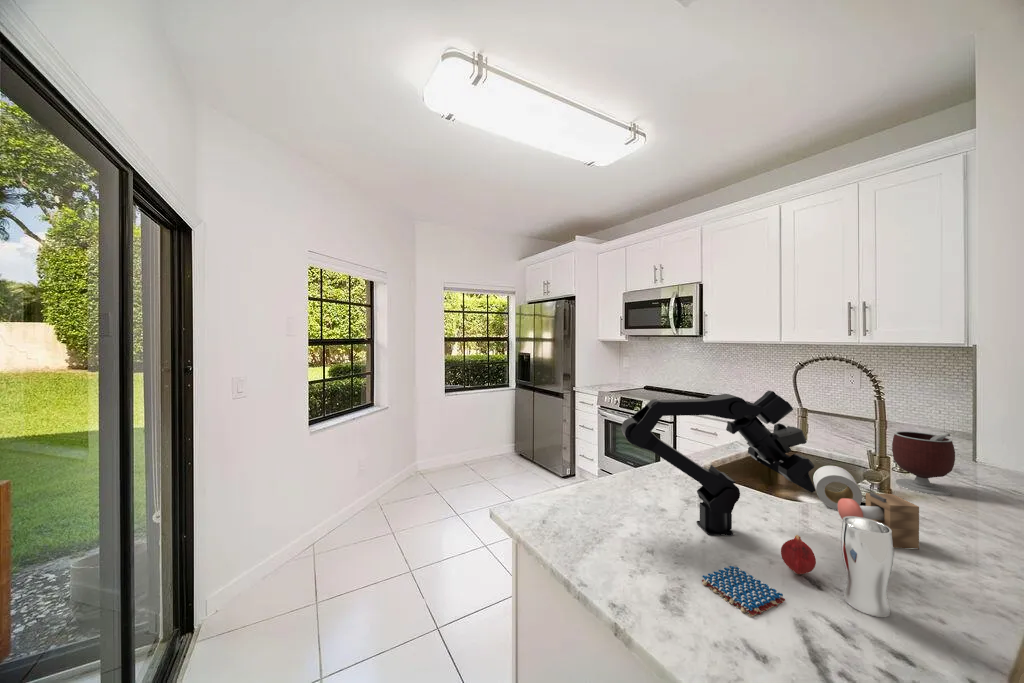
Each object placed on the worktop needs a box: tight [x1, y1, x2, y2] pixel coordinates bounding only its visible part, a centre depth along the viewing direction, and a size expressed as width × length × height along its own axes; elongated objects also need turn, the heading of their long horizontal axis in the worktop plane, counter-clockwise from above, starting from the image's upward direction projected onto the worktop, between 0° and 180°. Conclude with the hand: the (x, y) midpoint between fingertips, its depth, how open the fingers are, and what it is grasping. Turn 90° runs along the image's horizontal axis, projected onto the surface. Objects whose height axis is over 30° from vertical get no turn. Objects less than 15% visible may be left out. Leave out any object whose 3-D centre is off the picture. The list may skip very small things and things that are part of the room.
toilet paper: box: [812, 465, 863, 511], centre depth 110 cm, size 10×10×10 cm
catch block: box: [865, 491, 920, 550], centre depth 90 cm, size 6×7×11 cm
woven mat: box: [701, 565, 786, 618], centre depth 72 cm, size 10×11×2 cm
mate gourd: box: [891, 430, 956, 496], centre depth 121 cm, size 16×14×20 cm
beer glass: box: [840, 516, 895, 618], centre depth 68 cm, size 7×7×15 cm
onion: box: [780, 534, 817, 576], centre depth 77 cm, size 6×6×8 cm
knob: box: [837, 498, 885, 521], centre depth 91 cm, size 8×6×6 cm
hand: (800, 484), depth 93 cm, fingers open, 9 cm apart
